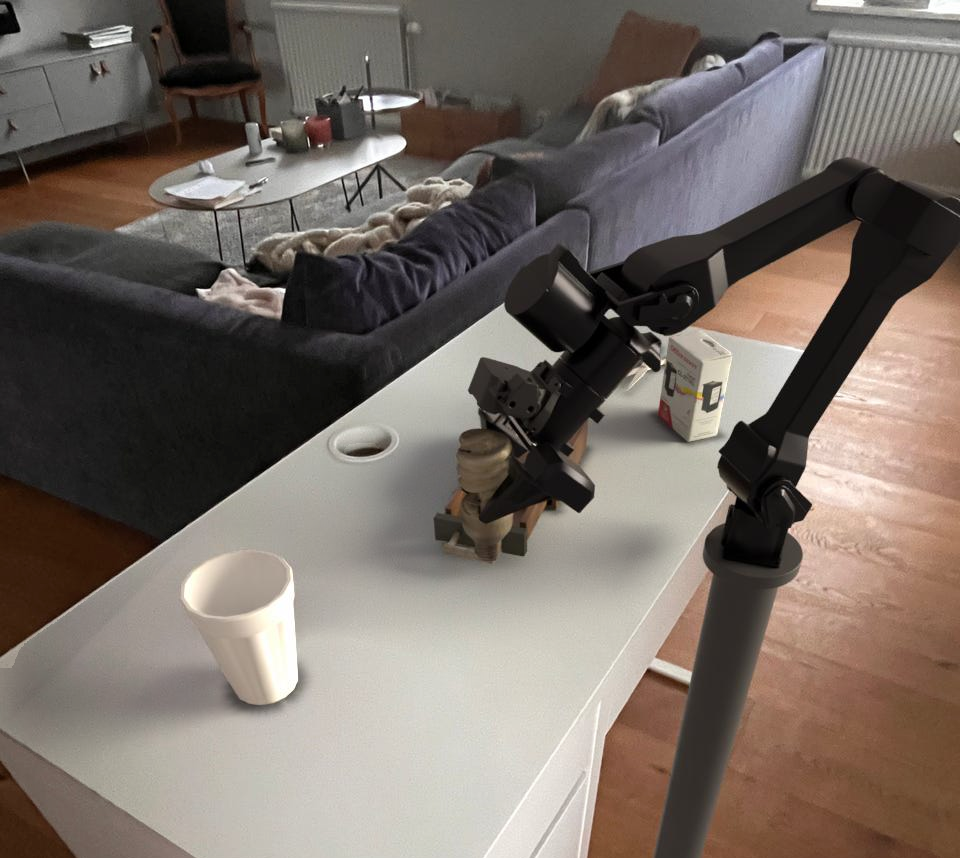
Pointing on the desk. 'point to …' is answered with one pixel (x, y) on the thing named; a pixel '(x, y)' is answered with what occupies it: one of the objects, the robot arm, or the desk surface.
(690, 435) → the ink box
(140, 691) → the desk surface
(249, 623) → the cup
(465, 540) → the drawer
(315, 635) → the desk surface
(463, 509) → the light bulb
